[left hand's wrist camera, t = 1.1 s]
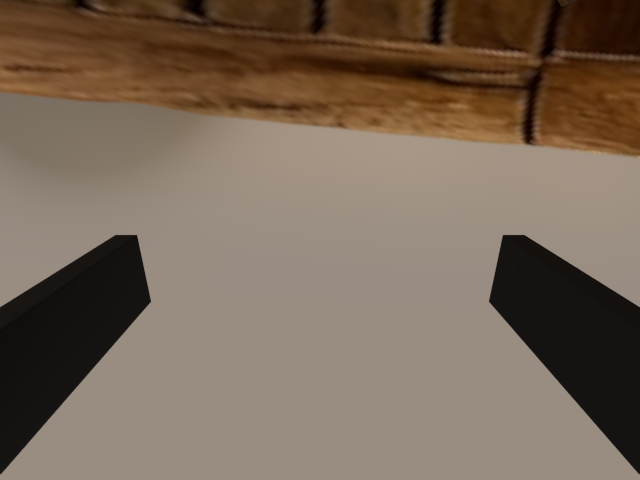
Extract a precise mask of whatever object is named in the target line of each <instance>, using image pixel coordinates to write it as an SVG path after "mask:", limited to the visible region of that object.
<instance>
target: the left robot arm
mask: <svg viewBox="0 0 640 480" xmlns="http://www.w3.org/2000/svg"><path fill="white" fill-rule="evenodd" d="M150 302H151V299H150V295H149V290H148V285H147V281H146V276H145V271H144V266H143V261H142V257H141V252H140V247H139V242H138V238H137V235H115V236H113V237H112V238H110V239H109V240H107V241H105V242H104V243H102V244H101V245H99V246H97V247H96V248H94V249H93V250H91V251H90V252H88V253H86V254H85V255H83V256H81V257H80V258H78V259H77V260H75V261H74V262H72V263H70V264H69V265H67V266H65V267H64V268H62V269H61V270H59V271H57V272H56V273H54V274H53V275H51V276H50V277H48V278H46V279H45V280H43V281H42V282H40V283H38V284H37V285H35V286H33V287H32V288H30V289H29V290H27V291H25V292H24V293H22V294H21V295H19V296H18V297H16V298H14V299H13V300H11V301H10V302H8V303H6V304H5V305H3V306H2V307H0V474H1V473H2V472H3V471H4V470H5V469H6V468H7V467H8V465H9V464H10V463H11V462H12V461H13V460H14V459H15V457H16V456H17V455H18V454H19V453H20V452H21V450H22V449H23V448H24V447H25V446H26V445H27V444H28V442H29V441H30V440H31V439H32V438H33V437H34V436H35V434H36V433H37V432H38V431H39V430H40V429H41V427H42V426H43V425H44V424H45V423H46V422H47V421H48V419H49V418H50V417H51V416H52V415H53V414H54V413H55V411H56V410H57V409H58V408H59V407H60V406H61V405H62V403H63V402H64V401H65V400H66V399H67V398H68V396H69V395H70V394H71V393H72V392H73V391H74V390H75V388H76V387H77V386H78V385H79V384H80V383H81V381H82V380H83V379H84V378H85V377H86V376H87V375H88V373H89V372H90V371H91V370H92V369H93V368H94V367H95V365H96V364H97V363H98V362H99V361H100V360H101V358H102V357H103V356H104V355H105V354H106V353H107V352H108V350H109V349H110V348H111V347H112V346H113V345H114V344H115V342H116V341H117V340H118V339H119V338H120V337H121V335H122V334H123V333H124V332H125V331H126V330H127V329H128V327H129V326H130V325H131V324H132V323H133V322H134V320H135V319H136V318H137V317H138V316H139V315H140V314H141V313H142V311H143V310H144V309H145V308H146V307H147V306H148V304H149V303H150ZM489 302H490V303H491V304H492V306H493V307H494V308H495V309H496V310H497V311H498V313H499V314H500V315H501V316H502V317H503V318H504V319H505V321H506V322H507V323H508V324H509V325H510V326H511V327H512V329H513V330H514V331H515V332H516V333H517V334H518V335H519V337H520V338H521V339H522V340H523V341H524V342H525V344H526V345H527V346H528V347H529V348H530V349H531V350H532V352H533V353H534V354H535V355H536V356H537V357H538V359H539V360H540V361H541V362H542V363H543V364H544V365H545V367H546V368H547V369H548V370H549V371H550V372H551V373H552V375H553V376H554V377H555V378H556V379H557V380H558V381H559V383H560V384H561V385H562V386H563V387H564V388H565V390H566V391H567V392H568V393H569V394H570V395H571V396H572V398H573V399H574V400H575V401H576V402H577V403H578V405H579V406H580V407H581V408H582V409H583V410H584V411H585V413H586V414H587V415H588V416H589V417H590V418H591V419H592V421H593V422H594V423H595V424H596V425H597V426H598V427H599V429H600V430H601V431H602V432H603V433H604V434H605V436H606V437H607V438H608V439H609V440H610V441H611V442H612V444H613V445H614V446H615V447H616V448H617V449H618V450H619V452H620V453H621V454H622V455H623V456H624V457H625V459H626V460H627V461H628V462H629V463H630V464H631V465H632V467H633V468H634V469H635V470H636V471H637V472H638V473H639V474H640V307H638V306H637V305H635V304H634V303H632V302H630V301H629V300H627V299H626V298H624V297H623V296H621V295H619V294H618V293H616V292H615V291H613V290H611V289H610V288H608V287H607V286H605V285H603V284H602V283H600V282H599V281H597V280H595V279H594V278H592V277H591V276H589V275H587V274H586V273H584V272H583V271H581V270H579V269H578V268H576V267H575V266H573V265H571V264H570V263H568V262H567V261H565V260H563V259H562V258H560V257H559V256H557V255H555V254H554V253H552V252H551V251H549V250H547V249H546V248H544V247H543V246H541V245H539V244H538V243H536V242H535V241H533V240H531V239H530V238H528V237H527V236H525V235H503V238H502V242H501V247H500V252H499V257H498V262H497V266H496V271H495V276H494V281H493V285H492V290H491V295H490V299H489Z"/></svg>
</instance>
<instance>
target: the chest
mask: <svg viewBox="0 0 640 480" xmlns="http://www.w3.org/2000/svg"><path fill="white" fill-rule="evenodd" d="M557 1H558V2H559V4H560V5H561V6H565V5H567V4H570V3H573V2H575V1H578V0H557Z"/></svg>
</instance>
